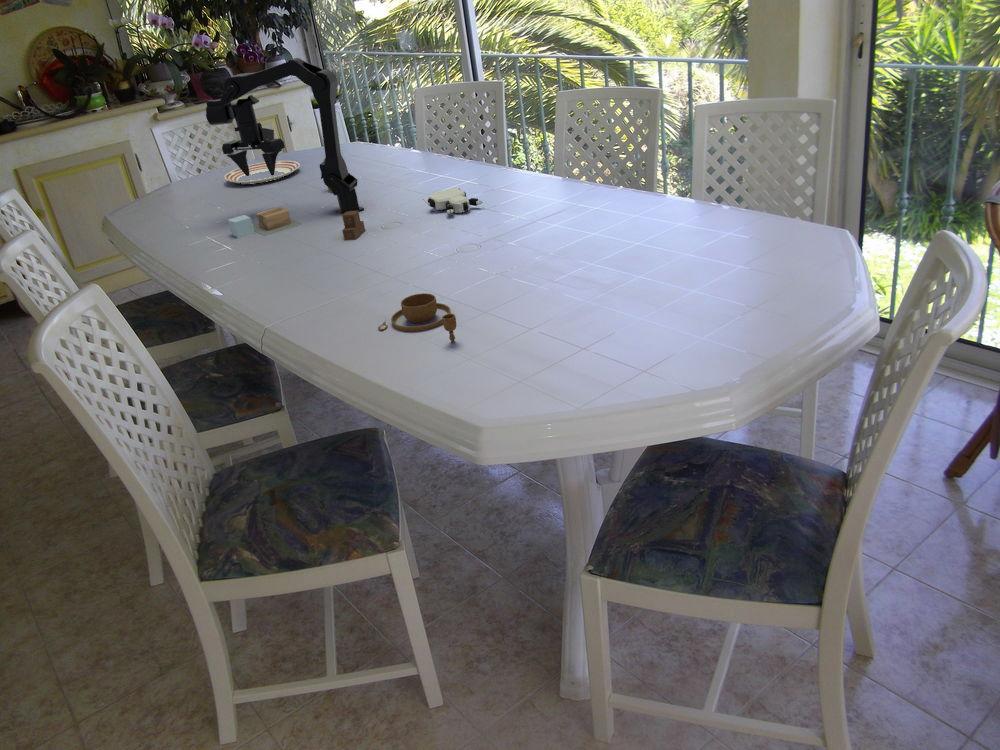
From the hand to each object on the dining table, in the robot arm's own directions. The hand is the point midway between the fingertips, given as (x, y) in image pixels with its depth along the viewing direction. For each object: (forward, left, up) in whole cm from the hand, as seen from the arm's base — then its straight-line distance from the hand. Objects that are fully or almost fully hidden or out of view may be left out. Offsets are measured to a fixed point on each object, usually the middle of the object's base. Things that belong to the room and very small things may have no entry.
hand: (260, 175), depth 241 cm
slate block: (-8, +12, -13) cm, 20 cm away
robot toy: (-46, -36, -14) cm, 60 cm away
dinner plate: (+59, -22, -14) cm, 64 cm away
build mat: (-9, +3, -13) cm, 16 cm away
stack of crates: (-41, -8, -14) cm, 44 cm away
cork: (+11, -28, -13) cm, 33 cm away
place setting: (-109, +15, -14) cm, 110 cm away
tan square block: (-9, +3, -13) cm, 16 cm away
